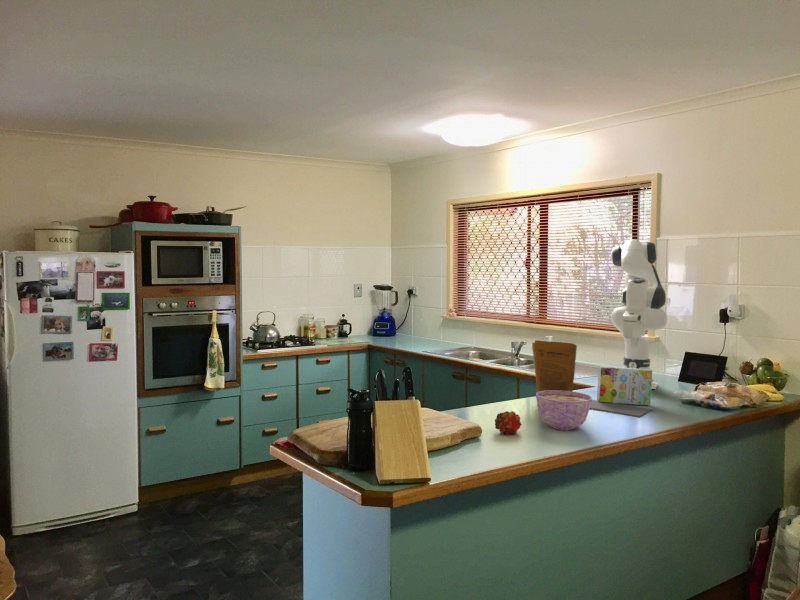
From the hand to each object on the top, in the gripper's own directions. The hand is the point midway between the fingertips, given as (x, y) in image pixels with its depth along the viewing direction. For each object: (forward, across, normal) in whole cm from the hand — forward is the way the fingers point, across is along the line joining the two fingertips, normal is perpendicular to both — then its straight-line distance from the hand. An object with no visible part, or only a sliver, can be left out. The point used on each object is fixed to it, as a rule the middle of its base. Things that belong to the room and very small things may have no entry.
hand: (634, 347), depth 291 cm
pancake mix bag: (+24, +43, -18) cm, 52 cm away
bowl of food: (+24, +67, -4) cm, 71 cm away
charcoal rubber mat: (+24, +23, 0) cm, 33 cm away
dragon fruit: (+24, +88, -15) cm, 92 cm away
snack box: (+23, +11, 0) cm, 26 cm away
